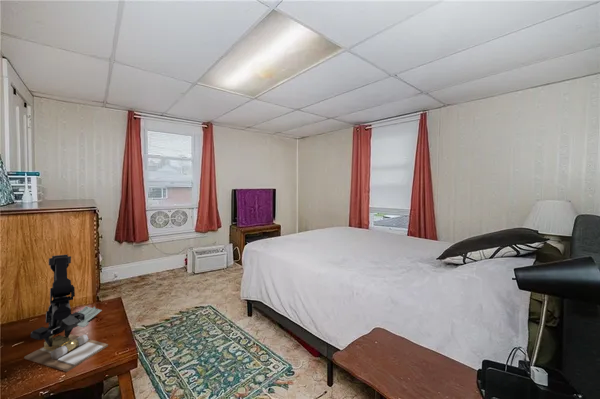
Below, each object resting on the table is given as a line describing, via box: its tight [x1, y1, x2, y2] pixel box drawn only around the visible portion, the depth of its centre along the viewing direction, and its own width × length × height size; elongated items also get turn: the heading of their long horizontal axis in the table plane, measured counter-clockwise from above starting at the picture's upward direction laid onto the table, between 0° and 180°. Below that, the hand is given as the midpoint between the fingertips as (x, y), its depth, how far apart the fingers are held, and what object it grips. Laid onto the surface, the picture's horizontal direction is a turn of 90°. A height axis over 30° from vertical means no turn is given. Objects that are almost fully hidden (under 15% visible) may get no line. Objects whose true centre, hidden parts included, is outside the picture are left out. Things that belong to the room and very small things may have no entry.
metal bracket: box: [77, 305, 103, 328], centre depth 143 cm, size 14×6×15 cm
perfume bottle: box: [43, 334, 78, 353], centre depth 117 cm, size 13×6×4 cm, turn 78°
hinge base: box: [23, 333, 109, 372], centre depth 116 cm, size 24×18×5 cm
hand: (58, 342), depth 117 cm, fingers open, 6 cm apart
